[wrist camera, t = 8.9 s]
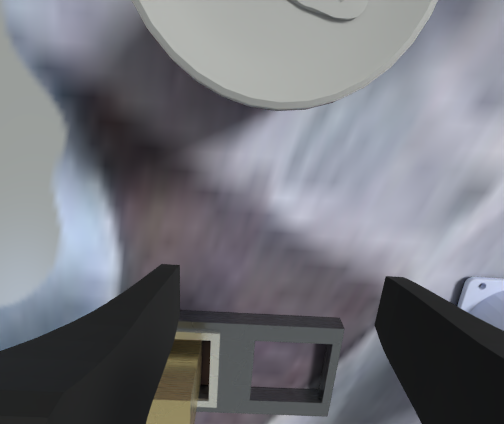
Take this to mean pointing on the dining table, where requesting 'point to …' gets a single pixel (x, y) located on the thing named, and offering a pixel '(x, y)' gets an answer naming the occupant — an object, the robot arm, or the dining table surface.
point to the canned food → (285, 45)
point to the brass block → (178, 385)
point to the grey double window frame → (242, 353)
